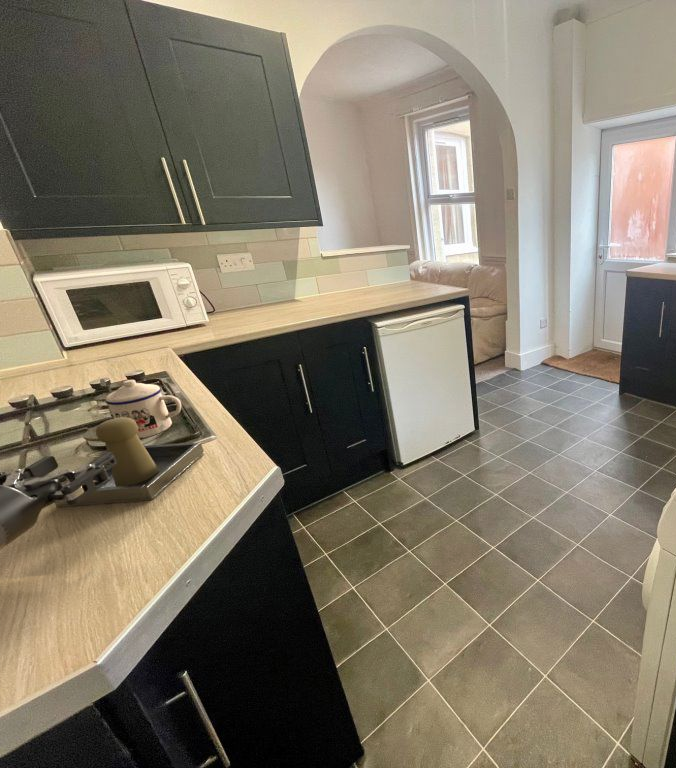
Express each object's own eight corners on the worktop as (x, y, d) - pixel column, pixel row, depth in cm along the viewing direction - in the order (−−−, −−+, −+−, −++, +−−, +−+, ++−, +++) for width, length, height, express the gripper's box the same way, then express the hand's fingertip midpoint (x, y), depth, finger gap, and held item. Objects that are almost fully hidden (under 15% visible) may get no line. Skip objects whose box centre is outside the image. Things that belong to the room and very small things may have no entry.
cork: (128, 488, 71) (102, 431, 67) (106, 482, 73) (80, 426, 69) (166, 469, 76) (144, 415, 72) (144, 464, 78) (122, 411, 74)
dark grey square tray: (56, 507, 67) (49, 494, 66) (125, 458, 81) (120, 447, 80) (152, 500, 68) (147, 486, 67) (204, 453, 82) (200, 441, 81)
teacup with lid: (112, 443, 87) (89, 392, 82) (132, 425, 94) (112, 376, 90) (180, 433, 90) (162, 383, 86) (194, 415, 98) (178, 369, 94)
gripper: (16, 501, 49) (123, 434, 64) (-119, 511, 48) (22, 441, 63) (45, 551, 52) (140, 476, 67) (-82, 561, 51) (44, 482, 66)
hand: (83, 459), depth 65 cm, fingers open, 8 cm apart
